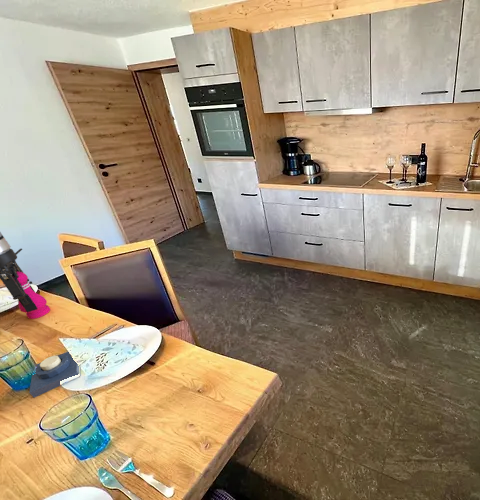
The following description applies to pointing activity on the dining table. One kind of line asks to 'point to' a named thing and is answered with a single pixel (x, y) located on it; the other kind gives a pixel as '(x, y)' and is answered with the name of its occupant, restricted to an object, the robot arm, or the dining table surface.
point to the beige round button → (50, 363)
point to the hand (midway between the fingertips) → (33, 305)
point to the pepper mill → (35, 297)
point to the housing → (53, 375)
